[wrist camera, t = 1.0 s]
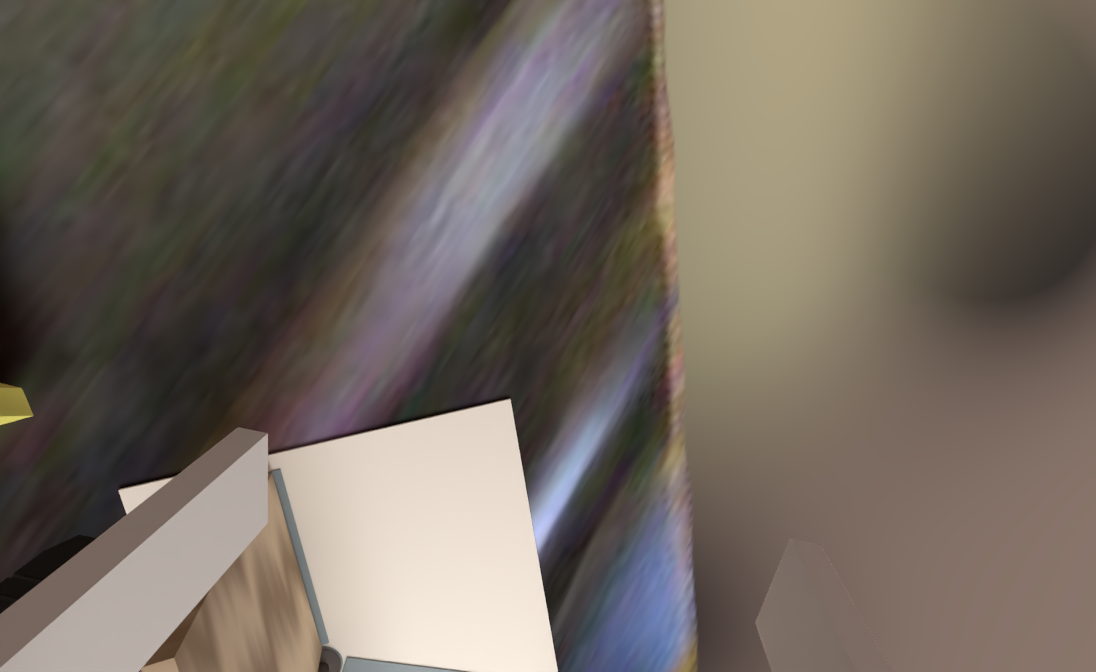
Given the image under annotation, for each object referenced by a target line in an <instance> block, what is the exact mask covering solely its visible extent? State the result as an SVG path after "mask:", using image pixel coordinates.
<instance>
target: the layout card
mask: <svg viewBox="0 0 1096 672" xmlns="http://www.w3.org/2000/svg"><path fill="white" fill-rule="evenodd" d="M271 473H272V475H273V478H274V482H275V485H276V489H277V492H278V496H279V499H280V503H281V506H282V510H283V513H284V517H285V520H286V524H287V527H288V531H289V534H290V538H291V541H292V545H293V548H294V552H295V555H296V559H297V562H298V566H299V569H300V573H301V576H302V580H303V584H304V587H305V591H306V594H307V598H308V601H309V605H310V608H311V612H312V615H313V619H314V622H315V626H316V629H317V633H318V636H319V640H320V643H321V647H322V649H329V650H332V651H334V652H335V653H337V654H338V656H339V657H340V660H341V669H340V672H558V669H557V663H556V658H555V652H554V646H553V640H552V635H551V629H550V623H549V617H548V612H547V606H546V600H545V595H544V589H543V583H542V577H541V572H540V566H539V560H538V554H537V549H536V543H535V537H534V531H533V526H532V520H531V514H530V508H529V503H528V497H527V491H526V486H525V480H524V474H523V468H522V463H521V457H520V451H519V445H518V440H517V434H516V428H515V422H514V417H513V411H512V405H511V400H510V398H509V399H505V400H500V401H496V402H492V403H488V404H483V405H479V406H475V407H470V408H466V409H462V410H457V411H453V412H449V413H445V414H440V415H436V416H432V417H427V418H423V419H419V420H414V421H410V422H406V423H401V424H397V425H393V426H389V427H384V428H380V429H376V430H371V431H367V432H363V433H358V434H354V435H350V436H346V437H341V438H337V439H333V440H328V441H324V442H320V443H315V444H311V445H307V446H302V447H298V448H294V449H290V450H285V451H281V452H277V453H272V454H268V474H271ZM174 477H175V476H173V477H169V478H165V479H160V480H156V481H152V482H148V483H143V484H139V485H135V486H130V487H126V488H122V489H119V490H118V491H119V494H120V496H121V499H122V502H123V505H124V508H125V511H126V513H127V514H128V513H130V512H131V511H132V510H133V509H135V508H136V507H137V506H138V505H140V504H141V503H142V502H144V501H145V500H146V499H147V498H149V497H150V496H151V495H152V494H154V493H155V492H156V491H158V490H159V489H160V488H161V487H163V486H164V485H165V484H166V483H168V482H169V481H170V480H172V479H173V478H174Z"/></svg>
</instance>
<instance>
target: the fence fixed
mask: <svg viewBox="0 0 1096 672" xmlns="http://www.w3.org/2000/svg"><path fill="white" fill-rule="evenodd" d="M340 669H341V660H340V657H339V656H338V654H337V653H335V652H334V651H332V650H329V649H322V647H321V643H320V640H319V636H318V633H317V629H316V626H315V622H314V619H313V615H312V612H311V608H310V605H309V601H308V598H307V594H306V591H305V587H304V584H303V580H302V576H301V573H300V569H299V566H298V562H297V559H296V555H295V552H294V548H293V545H292V541H291V538H290V534H289V531H288V527H287V524H286V520H285V517H284V513H283V510H282V506H281V503H280V499H279V496H278V492H277V489H276V485H275V482H274V478H273V475H272V473H271V474H268V523H267V524H266V526H265V527H264V528H263V529H262V530H261V531H260V532H259V534H258V535H257V536H256V537H255V538H254V539H253V540H252V542H251V543H250V544H249V545H248V546H247V547H246V549H245V550H244V551H243V552H242V553H241V554H240V555H239V557H238V558H237V559H236V560H235V561H234V562H233V563H232V565H231V566H230V567H229V568H228V569H227V570H226V572H225V573H224V574H223V575H222V576H221V577H220V578H219V580H218V581H217V582H216V583H215V584H214V585H213V586H212V588H211V589H210V590H209V591H208V592H207V593H206V595H205V596H204V597H203V598H202V599H201V600H200V601H199V603H198V604H197V605H196V606H195V607H194V608H193V609H192V611H191V612H190V613H189V614H188V615H187V616H186V618H185V619H184V620H183V621H182V622H181V623H180V624H179V626H178V627H177V628H176V629H175V630H174V631H173V632H172V634H171V635H170V636H169V637H168V638H167V639H166V641H165V642H164V643H163V644H162V645H161V646H160V647H159V649H158V650H157V651H156V652H155V653H154V654H153V655H152V657H151V658H150V659H149V660H148V661H147V662H146V664H145V665H144V666H143V667H142V668H141V670H142V672H340Z"/></svg>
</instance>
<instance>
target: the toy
mask: <svg viewBox="0 0 1096 672" xmlns="http://www.w3.org/2000/svg"><path fill="white" fill-rule="evenodd" d="M31 416H33V413H32V411H31V409H30V406H29V404H28V402H27V399H26V397H25V395H24V392H23V390H22V388H19V387H15V386H11V385H7V384H3V383H0V425H2V424H6V423H9V422H13V421H16V420H20V419H23V418H27V417H31Z"/></svg>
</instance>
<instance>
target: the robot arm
mask: <svg viewBox="0 0 1096 672" xmlns="http://www.w3.org/2000/svg"><path fill="white" fill-rule="evenodd" d="M267 523H268V433H264V432H259V431H254V430H249V429H244V428H239V427H238V428H236V429H235V430H234V431H233V432H231V433H230V434H229V435H228V436H226V437H225V438H224V439H222V440H221V441H220V442H219V443H217V444H216V445H215V446H214V447H212V448H211V449H210V450H208V451H207V452H206V453H205V454H203V455H202V456H201V457H200V458H198V459H197V460H196V461H194V462H193V463H192V464H191V465H189V466H188V467H187V468H186V469H184V470H183V471H182V472H180V473H179V474H178V475H177V476H175V477H174V478H173V479H172V480H170V481H169V482H168V483H166V484H165V485H164V486H163V487H161V488H160V489H159V490H158V491H156V492H155V493H154V494H152V495H151V496H150V497H149V498H147V499H146V500H145V501H144V502H142V503H141V504H140V505H138V506H137V507H136V508H135V509H133V510H132V511H131V512H130V513H128V514H127V515H126V516H124V517H123V518H122V519H121V520H119V521H118V522H117V523H116V524H114V525H113V526H112V527H110V528H109V529H108V530H107V531H105V532H104V533H103V534H102V535H100V536H99V537H98V538H92V537H87V536H82V535H78V536H76V537H73V538H71V539H69V540H67V541H65V542H63V543H60V544H58V545H56V546H54V547H52V548H50V549H48V550H45V551H43V552H42V553H41V554H39V555H38V556H37V557H35V558H34V559H32V560H31V561H30V562H28V563H27V564H26V565H24V566H23V567H22V568H20V569H19V570H17V571H16V572H15V573H14V575H13V576H12V577H11V578H7V579H5V580H4V581H2V582H1V583H0V672H139V670H140V669H141V668H142V667H143V666H144V665H145V664H146V662H147V661H148V660H149V659H150V658H151V657H152V655H153V654H154V653H155V652H156V651H157V650H158V649H159V647H160V646H161V645H162V644H163V643H164V642H165V641H166V639H167V638H168V637H169V636H170V635H171V634H172V632H173V631H174V630H175V629H176V628H177V627H178V626H179V624H180V623H181V622H182V621H183V620H184V619H185V618H186V616H187V615H188V614H189V613H190V612H191V611H192V609H193V608H194V607H195V606H196V605H197V604H198V603H199V601H200V600H201V599H202V598H203V597H204V596H205V595H206V593H207V592H208V591H209V590H210V589H211V588H212V586H213V585H214V584H215V583H216V582H217V581H218V580H219V578H220V577H221V576H222V575H223V574H224V573H225V572H226V570H227V569H228V568H229V567H230V566H231V565H232V563H233V562H234V561H235V560H236V559H237V558H238V557H239V555H240V554H241V553H242V552H243V551H244V550H245V549H246V547H247V546H248V545H249V544H250V543H251V542H252V540H253V539H254V538H255V537H256V536H257V535H258V534H259V532H260V531H261V530H262V529H263V528H264V527H265V526H266V524H267ZM755 623H756V626H757V629H758V632H759V635H760V638H761V641H762V644H763V647H764V649H765V653H766V656H767V659H768V662H769V665H770V667H771V670H772V672H893V671H892V669H891V668H890V666H889V664H888V662H887V661H886V659H885V657H884V655H883V653H882V652H881V650H880V648H879V646H878V645H877V643H876V641H875V639H874V637H873V636H872V634H871V632H870V630H869V629H868V627H867V625H866V623H865V622H864V620H863V618H862V617H861V615H860V613H859V611H858V609H857V608H856V606H855V604H854V603H853V601H852V599H851V597H850V595H849V594H848V592H847V590H846V588H845V587H844V585H843V583H842V581H841V580H840V578H839V576H838V574H837V573H836V571H835V569H834V567H833V565H832V564H831V562H830V560H829V558H828V557H827V555H826V553H825V551H824V550H823V548H822V546H821V545H819V544H814V543H809V542H805V541H800V540H795V539H789V542H788V544H787V547H786V549H785V551H784V554H783V556H782V559H781V561H780V563H779V566H778V568H777V571H776V573H775V576H774V578H773V581H772V583H771V585H770V588H769V590H768V593H767V595H766V598H765V600H764V603H763V605H762V607H761V610H760V612H759V615H758V617H757V620H756V622H755Z"/></svg>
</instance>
